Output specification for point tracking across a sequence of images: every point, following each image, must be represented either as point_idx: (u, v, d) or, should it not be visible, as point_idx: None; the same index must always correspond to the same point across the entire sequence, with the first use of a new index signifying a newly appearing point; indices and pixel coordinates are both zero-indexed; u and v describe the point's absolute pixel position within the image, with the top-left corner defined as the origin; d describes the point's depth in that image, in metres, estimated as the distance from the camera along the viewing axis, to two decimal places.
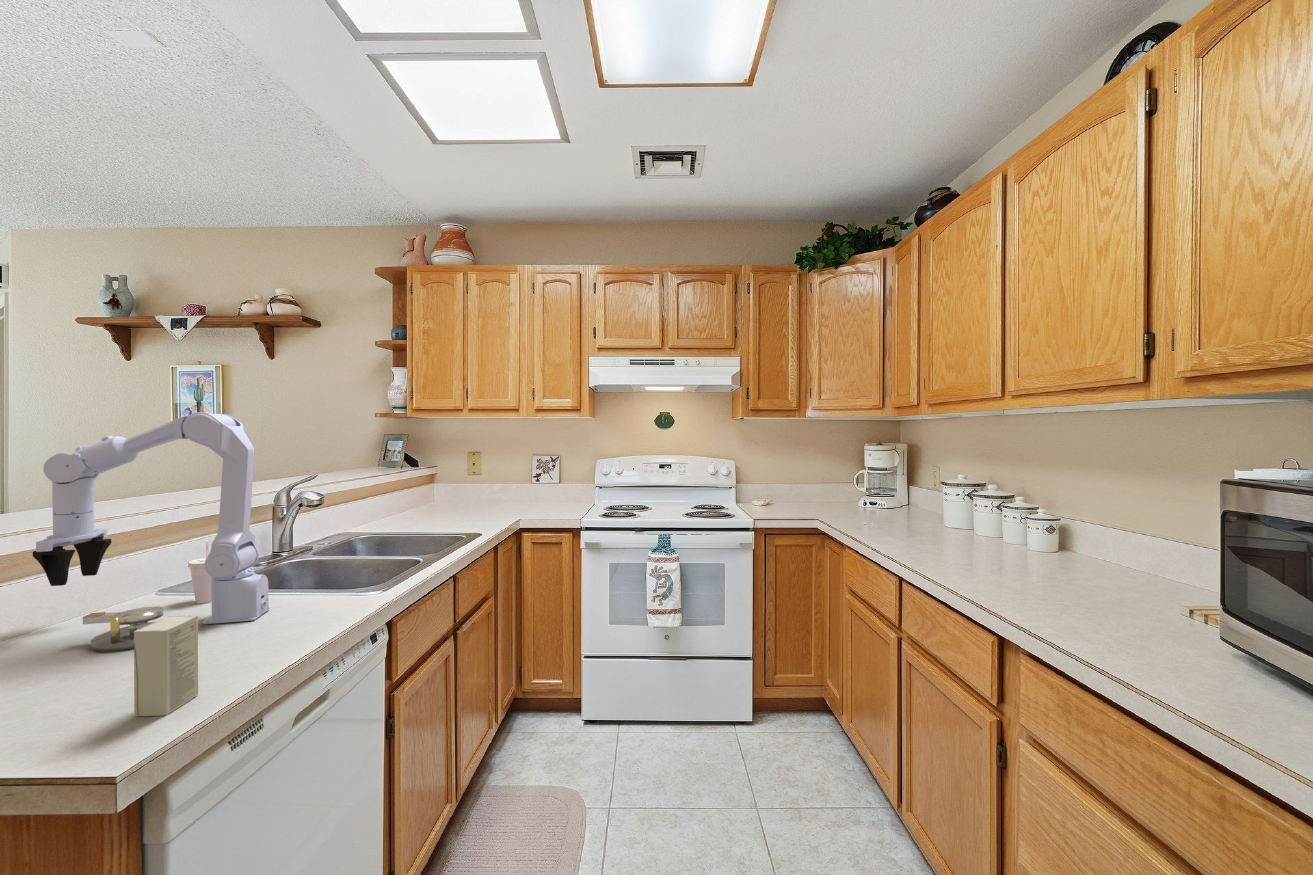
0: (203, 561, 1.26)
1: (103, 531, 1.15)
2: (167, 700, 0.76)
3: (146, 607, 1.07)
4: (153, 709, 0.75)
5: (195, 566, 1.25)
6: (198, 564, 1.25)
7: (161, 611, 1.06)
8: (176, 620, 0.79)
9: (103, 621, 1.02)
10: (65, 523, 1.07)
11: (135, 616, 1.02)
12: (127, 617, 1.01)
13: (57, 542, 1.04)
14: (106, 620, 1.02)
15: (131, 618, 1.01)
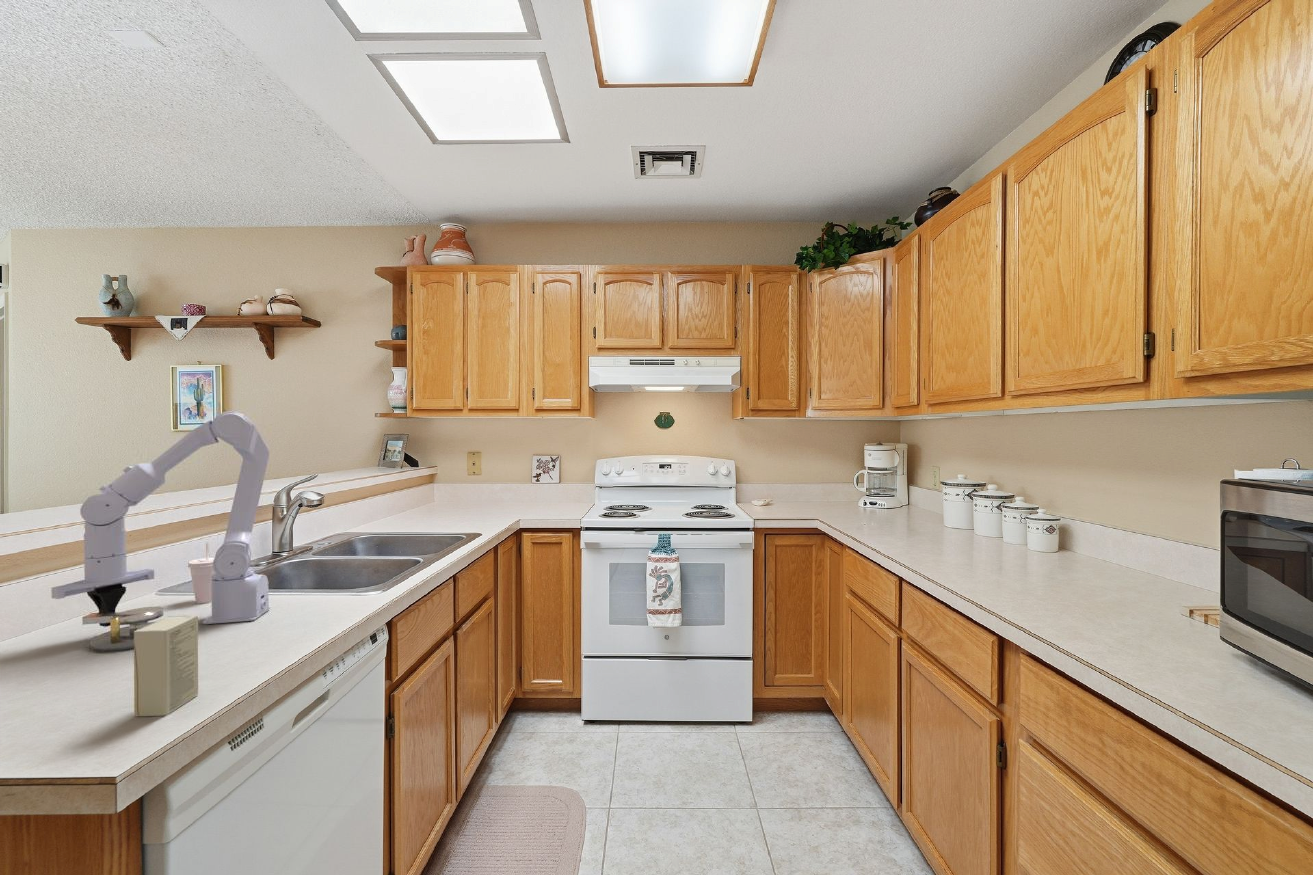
0: (203, 561, 1.26)
1: (146, 573, 1.10)
2: (167, 700, 0.76)
3: (146, 607, 1.07)
4: (153, 709, 0.75)
5: (195, 566, 1.25)
6: (198, 564, 1.25)
7: (161, 611, 1.06)
8: (176, 620, 0.79)
9: (103, 621, 1.02)
10: (88, 567, 1.02)
11: (135, 616, 1.02)
12: (127, 617, 1.01)
13: (70, 589, 0.99)
14: (106, 620, 1.02)
15: (131, 618, 1.01)
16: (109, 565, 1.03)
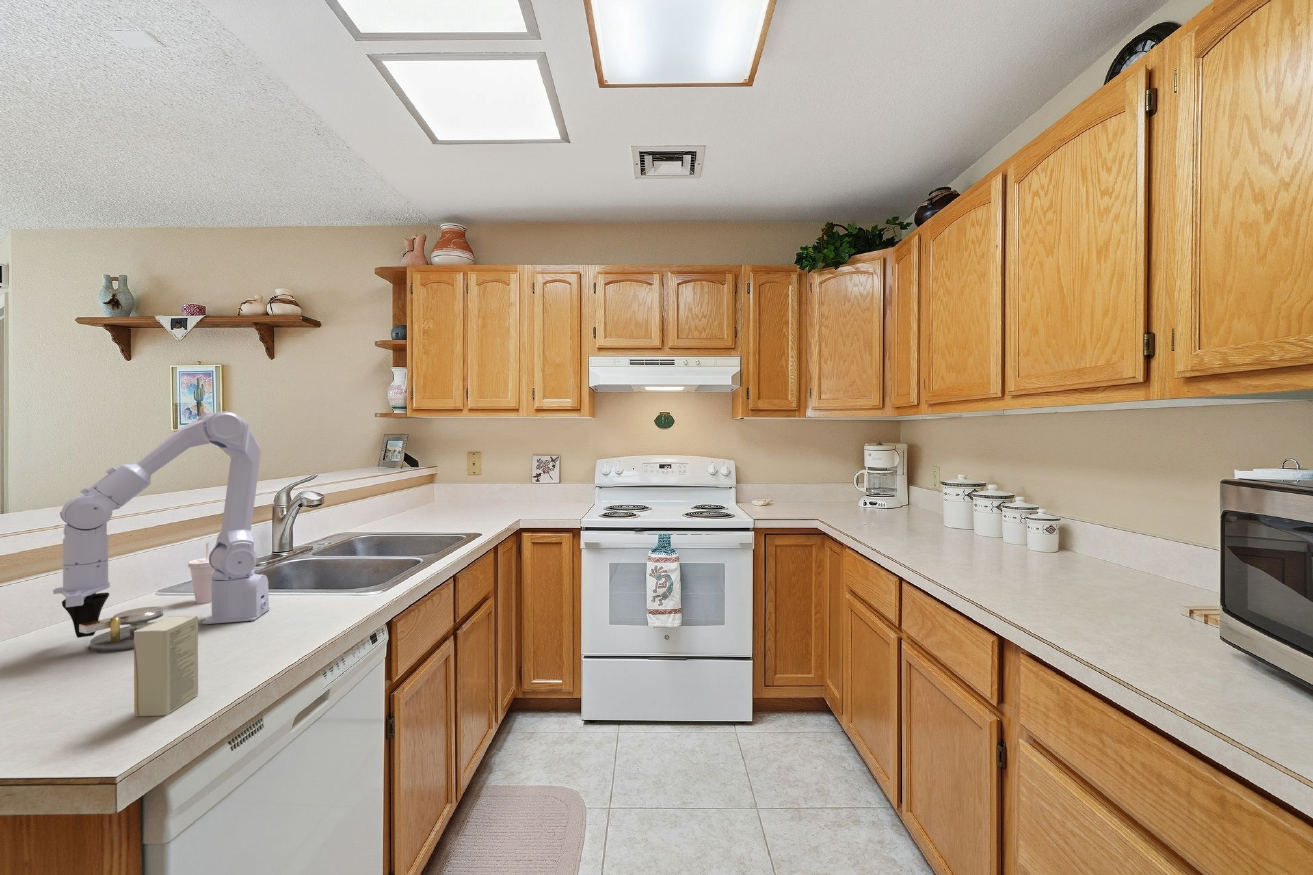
0: (203, 561, 1.26)
1: None
2: (167, 700, 0.76)
3: (126, 611, 1.05)
4: (153, 709, 0.75)
5: (195, 566, 1.25)
6: (198, 564, 1.25)
7: None
8: (176, 620, 0.79)
9: (109, 626, 0.99)
10: (85, 573, 0.97)
11: (153, 612, 1.04)
12: (147, 614, 1.03)
13: (86, 595, 0.95)
14: None
15: (153, 613, 1.04)
16: (106, 569, 1.00)
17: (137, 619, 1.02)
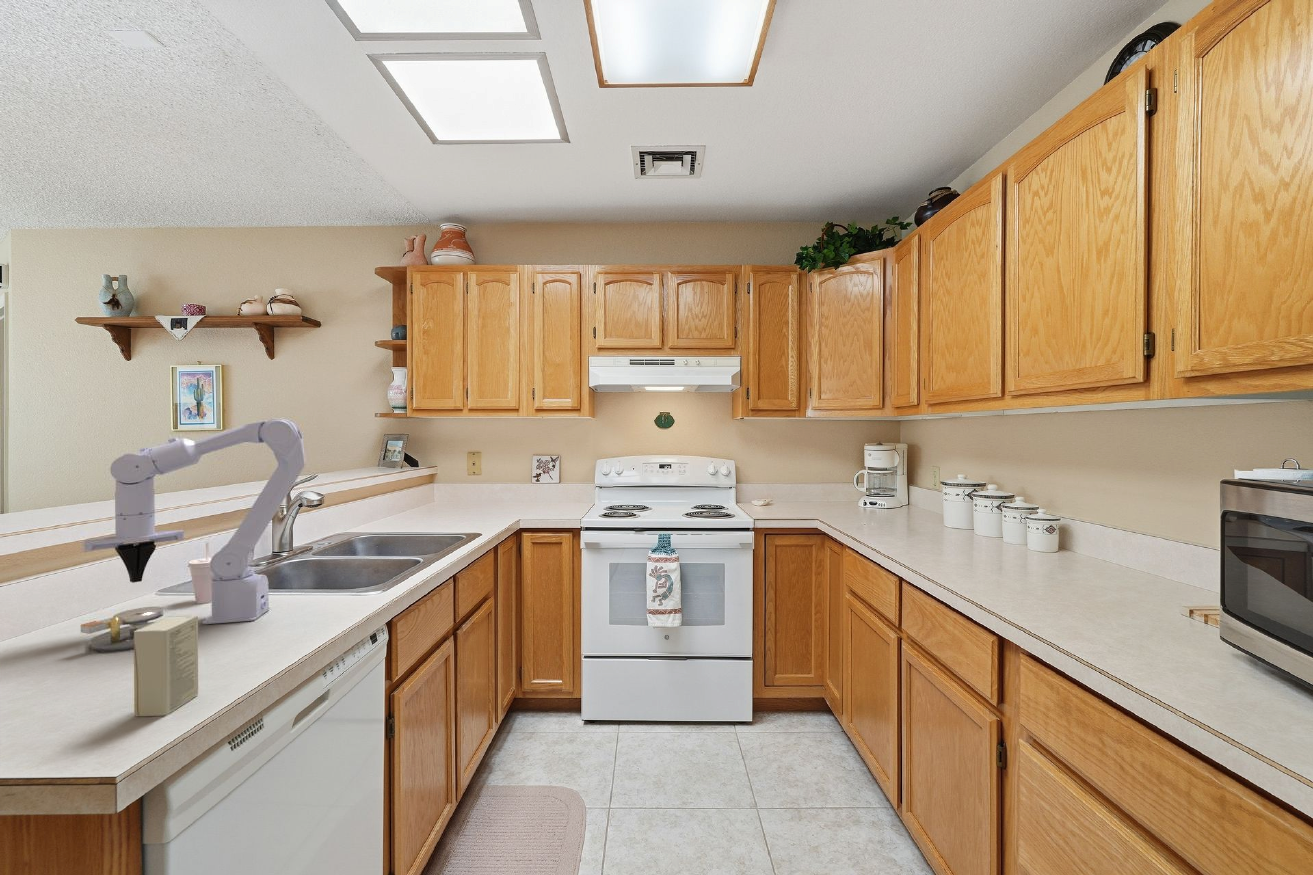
0: (203, 561, 1.26)
1: (175, 533, 1.13)
2: (167, 700, 0.76)
3: (124, 611, 1.05)
4: (153, 709, 0.75)
5: (195, 566, 1.25)
6: (198, 564, 1.25)
7: None
8: (176, 620, 0.79)
9: None
10: (116, 524, 1.06)
11: (154, 612, 1.05)
12: (148, 614, 1.03)
13: (97, 543, 1.03)
14: None
15: (155, 613, 1.04)
16: (133, 523, 1.07)
17: (139, 619, 1.02)
